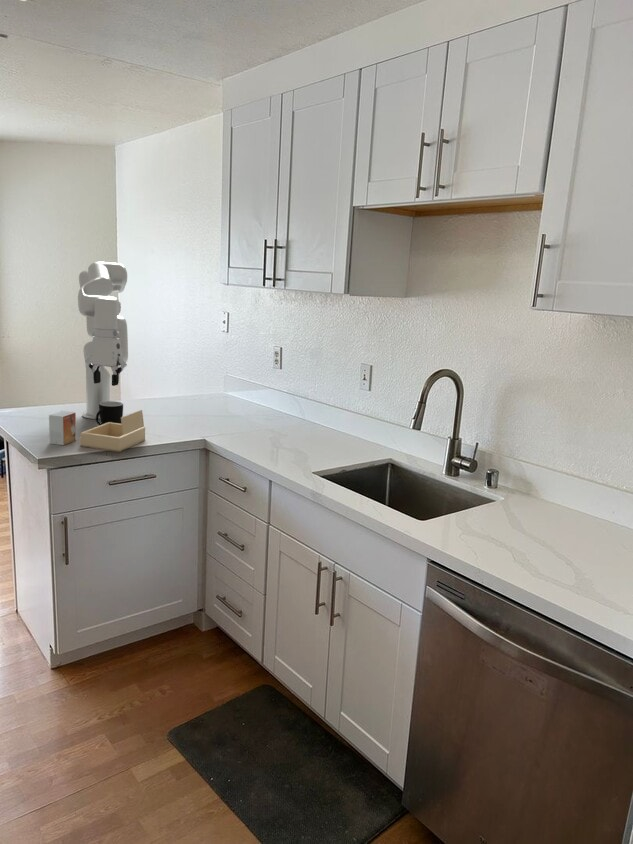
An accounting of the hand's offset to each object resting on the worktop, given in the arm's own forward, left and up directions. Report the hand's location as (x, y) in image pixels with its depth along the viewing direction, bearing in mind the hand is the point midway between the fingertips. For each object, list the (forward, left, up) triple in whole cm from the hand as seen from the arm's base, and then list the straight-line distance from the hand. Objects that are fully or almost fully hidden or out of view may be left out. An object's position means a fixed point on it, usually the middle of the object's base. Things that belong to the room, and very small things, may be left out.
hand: (106, 383), depth 221 cm
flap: (0, +10, -13) cm, 16 cm away
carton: (0, +3, -22) cm, 22 cm away
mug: (-16, -9, -22) cm, 29 cm away
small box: (+7, -13, -22) cm, 26 cm away
